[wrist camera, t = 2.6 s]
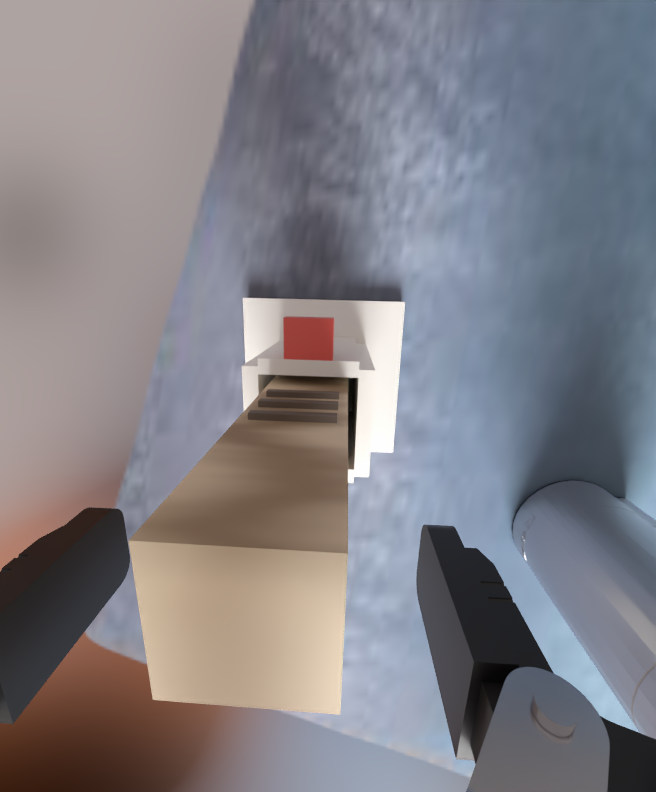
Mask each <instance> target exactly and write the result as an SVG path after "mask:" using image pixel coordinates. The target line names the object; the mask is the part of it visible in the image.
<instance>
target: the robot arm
mask: <svg viewBox="0 0 656 792" xmlns="http://www.w3.org/2000/svg"><path fill="white" fill-rule="evenodd" d="M513 538H514V543H515V545H516V547H517V549H518V551H519V552H520V554H521V555H522V557H523V558H524V560H525V561H526V563H527V564H528V566H529V567H530V569H531V570H532V572H533V573H534V575H535V576H536V578H537V579H538V581H539V582H540V584H541V585H542V587H543V588H544V590H545V591H546V593H547V594H548V596H549V597H550V599H551V600H552V602H553V603H554V605H555V606H556V608H557V609H558V611H559V612H560V614H561V615H562V617H563V618H564V620H565V621H566V623H567V624H568V626H569V627H570V629H571V630H572V632H573V633H574V635H575V636H576V638H577V639H578V641H579V642H580V644H581V645H582V647H583V648H584V650H585V651H586V653H587V654H588V656H589V657H590V659H591V660H592V662H593V663H594V665H595V666H596V668H597V669H598V671H599V672H600V674H601V675H602V677H603V678H604V680H605V681H606V683H607V684H608V686H609V687H610V689H611V690H612V692H613V693H614V695H615V696H616V698H617V699H618V701H619V702H620V704H621V705H622V707H623V708H624V710H625V711H626V713H627V714H628V716H629V717H630V719H631V720H632V722H633V723H634V725H635V726H636V728H637V729H638V731H639V732H640V733H638V732H635V731H633V730H630V729H628V728H625V727H622V726H620V725H617V724H615V723H613V722H610V721H608V720H606V719H605V718H603V717H601V716H599V714H598V712H597V711H596V710H595V708H594V707H593V705H592V704H591V703H590V702H589V701H588V700H587V698H586V697H585V696H584V695H583V694H582V693H581V692H580V691H579V690H577V689H576V688H575V687H574V686H573V685H571V684H570V683H569V682H567V681H566V680H564V679H563V678H561V677H559V676H557V675H555V674H554V673H553V671H552V670H551V668H550V666H549V664H548V662H547V661H546V659H545V657H544V655H543V653H542V651H541V650H540V648H539V646H538V644H537V642H536V641H535V639H534V637H533V635H532V633H531V631H530V630H529V628H528V626H527V624H526V622H525V620H524V619H523V617H522V615H521V613H520V611H519V609H518V608H517V606H516V604H515V603H513V600H512V597H511V595H510V593H509V591H508V589H507V588H506V586H504V582H503V580H502V578H501V577H500V575H499V573H498V571H497V569H496V567H495V566H494V564H493V563H492V562H491V561H490V560H489V559H488V558H487V557H485V556H484V555H483V554H482V553H481V552H480V551H479V550H478V549H477V548H464V546H463V543H462V541H461V539H460V537H459V535H458V533H457V531H456V529H455V527H453V526H440V525H423V527H422V532H421V540H420V549H419V558H418V567H417V594H418V600H419V605H420V609H421V613H422V618H423V622H424V626H425V630H426V634H427V639H428V643H429V647H430V651H431V655H432V660H433V664H434V668H435V672H436V676H437V681H438V685H439V689H440V693H441V697H442V702H443V706H444V710H445V714H446V719H447V723H448V727H449V731H450V735H451V740H452V744H453V748H454V752H455V756H456V759H460V760H473V761H475V763H476V765H475V768H474V771H473V774H472V777H471V780H470V783H469V786H468V788H467V791H466V792H656V520H654V519H653V518H651V517H650V516H649V515H647V514H646V513H645V512H643V511H642V510H641V509H639V508H638V507H636V506H635V505H634V504H632V503H631V502H630V501H628V500H627V499H623V498H615V497H614V496H613V495H611V494H610V493H609V492H607V491H606V490H605V489H603V488H601V487H599V486H597V485H595V484H592V483H589V482H585V481H564V482H558V483H555V484H552V485H548V486H546V487H545V488H543V489H541V490H539V491H537V492H536V493H534V494H533V495H532V496H530V497H529V498H528V499H527V500H526V501H525V502H524V504H523V505H522V506H521V507H520V509H519V511H518V512H517V514H516V517H515V520H514V523H513ZM129 563H130V555H129V549H128V542H127V536H126V529H125V523H124V517H123V514H122V512H121V511H120V510H119V509H111V508H90V507H89V508H87V509H84V510H83V511H82V512H80V513H79V514H78V515H77V516H76V517H74V518H73V519H72V520H71V521H69V522H68V523H67V524H66V525H65V526H62V527H60V528H58V529H57V530H55V531H53V532H51V533H49V534H47V535H45V536H43V537H41V538H40V539H38V540H37V541H35V542H34V543H33V544H32V545H30V546H29V547H28V548H27V549H25V550H24V551H23V552H22V553H20V554H19V557H18V558H14V559H13V560H12V561H10V562H9V563H8V564H7V565H5V566H4V567H3V568H2V570H1V572H0V723H9V724H13V723H14V722H15V721H16V719H17V718H18V717H19V715H20V714H21V713H22V712H23V710H24V709H25V708H26V706H27V705H28V704H29V703H30V701H31V700H32V699H33V697H34V696H35V695H36V693H37V692H38V691H39V690H40V688H41V687H42V686H43V684H44V683H45V682H46V681H47V679H48V678H49V677H50V675H51V674H52V673H53V672H54V670H55V669H56V668H57V666H58V665H59V664H60V662H61V661H62V660H63V659H64V657H65V656H66V655H67V653H68V652H69V651H70V649H71V648H72V647H73V646H74V644H75V643H76V642H77V641H78V639H79V638H80V636H81V635H82V634H83V633H84V631H85V630H86V629H87V628H88V626H89V625H90V624H91V622H92V621H93V620H94V619H95V617H96V616H97V615H98V613H99V612H100V611H101V609H102V608H103V607H104V606H105V604H106V603H107V602H108V600H109V599H110V598H111V597H112V595H113V594H114V593H115V591H116V590H117V589H118V587H119V586H120V585H121V584H122V582H123V580H124V579H125V577H126V574H127V572H128V568H129Z"/></svg>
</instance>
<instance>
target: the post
mask: <svg viewBox="0 0 656 792" xmlns="http://www.w3.org/2000/svg"><path fill="white" fill-rule="evenodd" d="M348 397H349V377H322V376H294V375H276V376H275V377H274V378H273V380H272V381H271V382H270V383H269V384H268V385H267V386H266V387H265V388H264V390H263V391H262V392H261V393H260V394H259V395H258V396H257V397H256V399H255V400H254V401H253V402H252V403H251V404H250V405H249V406H248V408H247V409H246V410H245V411H244V412H243V413H242V414H241V415H240V416H239V418H238V419H237V420H236V421H235V422H234V423H233V424H232V425H231V427H230V428H229V429H228V430H227V431H226V432H225V433H224V434H223V436H222V437H221V438H220V439H219V440H218V441H217V442H216V443H215V444H214V446H213V447H212V448H211V449H210V450H209V451H208V452H207V453H206V455H205V456H204V457H203V458H202V459H201V460H200V461H199V462H198V464H197V465H196V466H195V467H194V468H193V469H192V470H191V471H190V472H189V474H188V475H187V476H186V477H185V478H184V479H183V480H182V481H181V483H180V484H179V485H178V486H177V487H176V488H175V489H174V490H173V492H172V493H171V494H170V495H169V496H168V497H167V498H166V499H165V500H164V502H163V503H162V504H161V505H160V506H159V507H158V508H157V509H156V511H155V512H154V513H153V514H152V515H151V516H150V517H149V518H148V520H147V521H146V522H145V523H144V524H143V525H142V526H141V527H140V528H139V530H138V531H137V532H136V533H135V534H134V535H133V536H132V537H131V539H130V540H129V547H130V553H131V560H132V566H133V573H134V579H135V586H136V592H137V599H138V605H139V612H140V618H141V625H142V632H143V638H144V645H145V651H146V658H147V664H148V671H149V677H150V684H151V690H152V697H153V700H163V701H175V702H188V703H201V704H213V705H225V706H239V707H252V708H263V709H276V710H288V711H301V712H314V713H326V714H339V715H340V709H341V687H342V666H343V645H344V624H345V602H346V581H347V560H348Z"/></svg>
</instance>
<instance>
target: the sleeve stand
mask: <svg viewBox="0 0 656 792" xmlns="http://www.w3.org/2000/svg"><path fill="white" fill-rule="evenodd" d="M404 310H405V302H395V301H357V300H318V299H279V298H243V314H244V339H245V364H244V365H242V381H243V404H244V411H245V410H246V409H247V408H248V406H249V405H250V404H251V403H252V402H253V401H254V400H255V399H256V397H257V396H258V395H259V394H260V393H261V392H262V391H263V390H264V388H265V387H266V386H267V385H268V384H269V383H270V382H271V381H272V380H273V378H274V377H275V376H276V375H294V376H322V377H349V397H348V483H353V482H354V477H369V467H370V452H386V453H393V445H394V433H395V421H396V408H397V396H398V384H399V371H400V359H401V347H402V334H403V322H404Z"/></svg>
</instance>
